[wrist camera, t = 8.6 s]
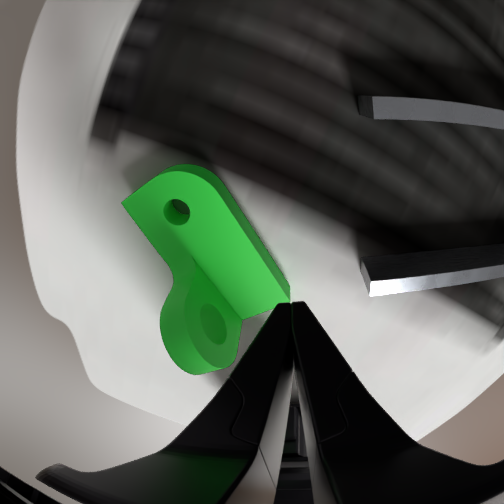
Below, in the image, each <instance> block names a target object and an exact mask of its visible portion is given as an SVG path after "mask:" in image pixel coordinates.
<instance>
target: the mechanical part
mask: <svg viewBox="0 0 504 504" xmlns="http://www.w3.org/2000/svg"><path fill="white" fill-rule="evenodd" d="M172 199H179V200H181V201H183V202H185V203H186V204H187V206H188V207H189V210H190V214H182V213H179V212H178V211H177V210H176V209H175V208H174V206H173V203H172ZM121 204H122V205H123V206H124V208H125V209H126V210H127V212H128V213H129V215H130V216H131V217H132V219H133V220H134V221H135V223H136V224H137V225H138V227H139V228H140V229H141V231H142V232H143V233H144V235H145V236H146V237H147V239H148V240H149V241H150V243H151V244H152V245H153V246H154V248H155V249H156V250H157V252H158V253H159V254H160V255H161V257H162V258H163V259H164V261H165V262H166V263H167V264H168V266H169V267H170V269H171V271H172V274H173V279H174V283H173V287H172V289H171V291H170V293H169V295H168V297H167V299H166V301H165V303H164V305H163V307H162V310H161V314H160V331H161V336H162V339H163V343H164V345H165V348H166V350H167V352H168V354H169V355H170V357H171V358H172V360H173V361H174V362H175V363H176V365H177V366H178V367H180V368H181V369H182V370H184V371H185V372H187V373H190V374H193V375H200V374H204V373H208V372H212V371H216V370H220V369H223V368H227V367H229V366H230V365H231V364H232V363H233V362H234V360H235V358H236V355H237V350H238V344H239V338H240V332H241V326H242V320H244V319H247V318H250V317H252V316H255V315H258V314H260V313H263V312H265V311H268V310H271V309H273V308H275V306H276V305H277V304H278V303H284V302H290V286H289V284H288V283H287V281H286V279H285V278H284V276H283V275H282V273H281V272H280V270H279V268H278V267H277V265H276V264H275V262H274V261H273V259H272V258H271V256H270V254H269V253H268V251H267V250H266V248H265V247H264V245H263V244H262V242H261V240H260V239H259V237H258V236H257V234H256V233H255V231H254V230H253V228H252V227H251V225H250V223H249V222H248V220H247V219H246V217H245V216H244V214H243V213H242V211H241V210H240V208H239V207H238V205H237V204H236V202H235V200H234V199H233V197H232V196H231V194H230V193H229V191H228V190H227V188H226V187H225V185H224V184H223V182H222V181H221V180H220V179H219V178H218V177H217V176H216V175H215V174H213V173H212V172H211V171H209V170H207V169H205V168H203V167H200V166H197V165H192V164H180V165H175V166H172V167H169V168H167V169H166V170H164V171H163V172H161V173H160V174H158V175H157V176H156V177H154V178H153V179H151V180H150V181H149V182H147V183H146V184H145V185H143V186H142V187H141V188H139V189H138V190H137V191H135V192H134V193H133V194H131V195H130V196H129V197H128V198H126V199H125V200H124V201H123V202H121Z"/></svg>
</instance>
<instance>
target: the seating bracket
mask: <svg viewBox="0 0 504 504" xmlns="http://www.w3.org/2000/svg"><path fill="white" fill-rule="evenodd" d="M358 105H359V115H362V116H366V117H369V118H372V119H402V120H425V121H439V122H451V123H461V124H470V125H478V126H485V127H492V128H498V129H504V110H501V109H496V108H491V107H486V106H480V105H474V104H468V103H461V102H454V101H446V100H437V99H427V98H415V97H398V96H358ZM361 274H362V276H363V279H364V282H365V285H366V287H367V290H368V293H369V296H377V295H386V294H394V293H402V292H410V291H418V290H425V289H432V288H439V287H446V286H453V285H459V284H465V283H471V282H477V281H483V280H489V279H494V278H500V277H504V243H501V244H492V245H483V246H473V247H464V248H454V249H444V250H434V251H424V252H414V253H403V254H392V255H381V256H370V257H361Z"/></svg>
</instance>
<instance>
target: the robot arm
mask: <svg viewBox="0 0 504 504" xmlns="http://www.w3.org/2000/svg"><path fill="white" fill-rule="evenodd" d="M294 369H295V376H296V383H297V389H298V395H299V402H300V404H292V405H290V398H291V390H292V382H293V373H294ZM35 478H36V479H37V480H39V481H41V482H42V483H44V484H46V485H47V486H49V487H51V488H53V489H55V490H56V491H58V492H60V493H62V494H64V495H66V496H68V497H70V498H72V499H74V500H76V501H78V502H80V503H82V504H504V460H502V461H500V462H498V463H495V464H492V465H475V464H471V463H468V462H465V461H462V460H459V459H457V458H453V457H451V456H448V455H445V454H443V453H440V452H438V451H435V450H433V449H430V448H427V447H425V446H423V445H421V444H419V443H417V442H416V441H415V440H413V439H412V438H411V437H410V436H408V435H407V434H406V433H405V432H404V431H403V429H402V428H401V427H400V426H399V425H398V424H397V423H396V422H395V421H394V420H393V419H392V418H391V417H390V416H389V414H388V413H387V412H386V411H385V410H384V409H383V408H382V407H381V406H380V405H379V404H378V403H377V401H376V400H375V399H374V398H373V397H372V396H371V394H370V393H369V392H368V391H367V389H366V388H365V387H364V385H363V384H362V383H361V381H360V380H359V379H358V377H357V376H356V374H355V373H354V372H352V369H351V367H350V366H349V364H348V363H347V361H346V360H345V359H344V357H343V356H342V354H341V353H340V351H339V350H338V348H337V347H336V346H335V344H334V343H333V341H332V340H331V338H330V337H329V336H328V334H327V333H326V331H325V330H324V328H323V327H322V326H321V324H320V323H319V321H318V320H317V318H316V317H315V316H314V314H313V313H312V311H311V310H310V309H309V307H308V306H307V304H306V303H305V302H304V301H298V302H292V303H290V302H284V303H278V304H277V305H276V306H275V308H274V309H273V311H272V313H271V314H270V316H269V317H268V319H267V320H266V322H265V323H264V325H263V326H262V328H261V329H260V331H259V332H258V334H257V336H256V337H255V339H254V340H253V342H252V343H251V345H250V346H249V348H248V349H247V351H246V352H245V353H244V355H243V356H242V358H241V359H240V361H239V362H238V364H237V365H236V367H235V368H234V370H233V371H232V373H231V374H230V375H229V378H227V380H226V381H225V382H224V384H223V385H222V387H221V388H220V390H219V391H218V392H217V393H216V395H215V396H214V397H213V399H212V400H211V401H210V402H209V403H208V405H207V406H206V407H205V408H204V409H203V410H202V411H201V412H200V413H199V414H198V416H197V417H196V418H195V419H194V420H193V421H192V422H191V423H190V424H189V425H188V426H187V427H186V428H185V429H184V430H183V431H182V432H181V433H180V434H179V435H178V436H177V437H176V438H175V439H174V440H173V441H172V442H171V443H170V444H169V445H167V446H166V447H165V448H163V449H162V450H160V451H158V452H156V453H154V454H151V455H148V456H146V457H143V458H140V459H137V460H134V461H131V462H128V463H125V464H122V465H119V466H115V467H112V468H109V469H105V470H101V471H97V472H80V471H77V470H75V469H72V468H70V467H67V466H65V465H63V464H55V465H53V466H50V467H48V468H45V469H43V470H42V471H41V472H39V473H38V474H37V475H36V477H35ZM0 504H62V503H60V502H58V501H57V500H55V499H53V498H51V497H50V496H48V495H46V494H44V493H43V492H41V491H39V490H37V489H36V488H34V487H33V486H31V485H29V484H28V483H26V482H24V481H23V480H21V479H19V478H18V477H16V476H15V475H13V474H12V473H10V472H9V471H7V470H5V469H4V468H3V467H1V466H0Z"/></svg>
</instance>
